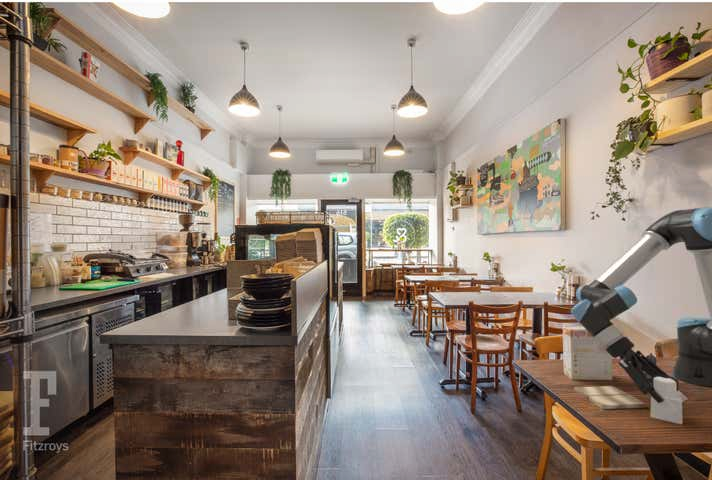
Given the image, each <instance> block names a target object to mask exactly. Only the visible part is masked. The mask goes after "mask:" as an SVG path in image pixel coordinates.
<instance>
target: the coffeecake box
mask: <svg viewBox="0 0 712 480" xmlns="http://www.w3.org/2000/svg"><path fill="white" fill-rule="evenodd" d="M562 349H563V350H562V356H563V361H562V362H563V374H564V375H565V376H566V377H568V378H569V379H570V380H574V381H576V380H581V381H584V380H586V381H588V380H589V381H593V380H594V381H613V378H614V376H613V357H612V356H611V355H610V354H609V353H608V352H607V351H606V347H603V346H602V345H601V344H600V343H597V342H596V339H595V338H594V337H593V336H592V335H591V334H590V333H589V332H588V331H587V330H586V329H585V328H584V327H583V326H582V325H581V324H579V325H578V324H577V325H575V324H574V325H571V324H569V325H564V324H563V325H562Z"/></svg>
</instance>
